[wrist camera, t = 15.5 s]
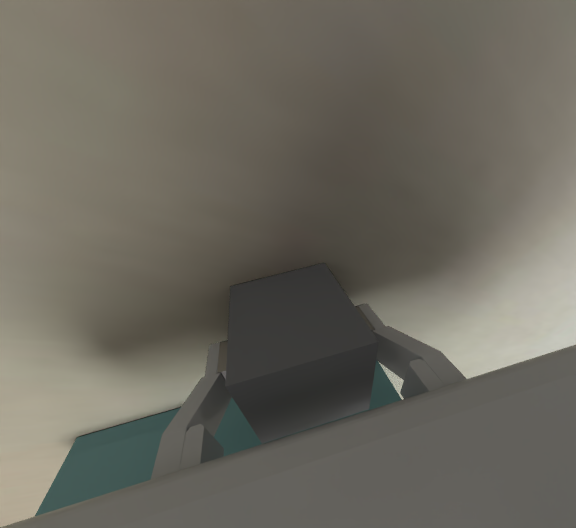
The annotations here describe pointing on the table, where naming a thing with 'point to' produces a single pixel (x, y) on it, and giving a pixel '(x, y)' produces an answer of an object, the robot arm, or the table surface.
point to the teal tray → (154, 450)
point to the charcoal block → (297, 352)
